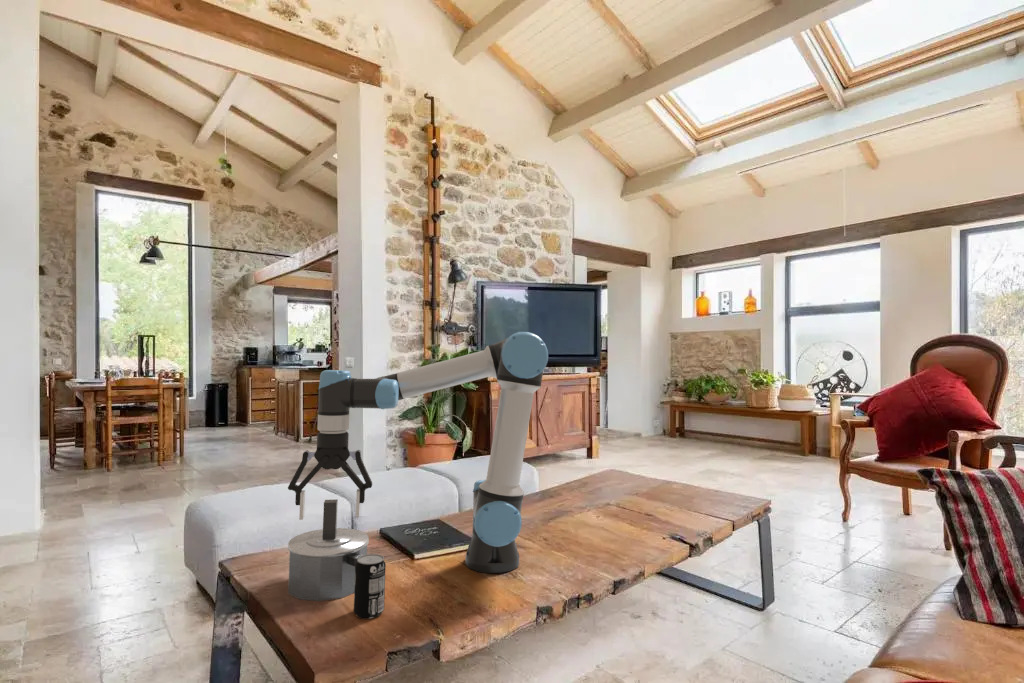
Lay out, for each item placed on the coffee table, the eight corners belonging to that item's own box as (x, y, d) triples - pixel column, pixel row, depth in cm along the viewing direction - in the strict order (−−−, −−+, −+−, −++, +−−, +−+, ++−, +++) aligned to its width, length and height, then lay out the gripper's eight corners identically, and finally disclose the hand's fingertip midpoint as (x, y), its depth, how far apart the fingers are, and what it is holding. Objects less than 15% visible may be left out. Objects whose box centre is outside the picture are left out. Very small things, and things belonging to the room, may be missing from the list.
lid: (369, 530, 147) (371, 491, 147) (367, 555, 128) (368, 510, 128) (295, 533, 142) (296, 493, 143) (281, 559, 124) (283, 513, 124)
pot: (387, 586, 135) (388, 545, 135) (323, 611, 121) (325, 566, 121) (330, 562, 149) (331, 526, 150) (267, 583, 135) (269, 542, 135)
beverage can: (356, 606, 123) (358, 553, 124) (386, 606, 124) (387, 553, 124) (350, 620, 117) (352, 564, 117) (381, 619, 117) (383, 563, 118)
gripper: (383, 429, 143) (381, 511, 142) (283, 429, 137) (280, 514, 136) (383, 433, 135) (380, 519, 135) (277, 433, 130) (273, 523, 129)
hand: (330, 517), depth 135 cm, fingers open, 13 cm apart
